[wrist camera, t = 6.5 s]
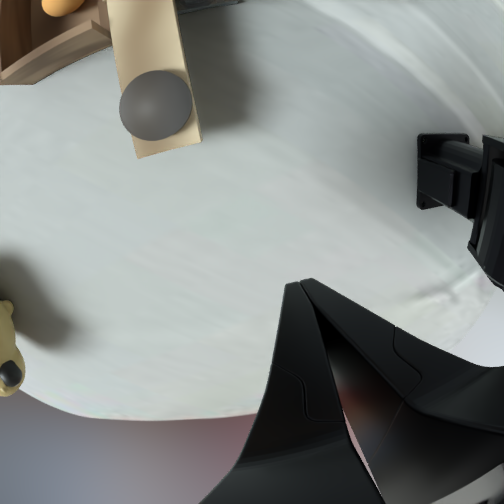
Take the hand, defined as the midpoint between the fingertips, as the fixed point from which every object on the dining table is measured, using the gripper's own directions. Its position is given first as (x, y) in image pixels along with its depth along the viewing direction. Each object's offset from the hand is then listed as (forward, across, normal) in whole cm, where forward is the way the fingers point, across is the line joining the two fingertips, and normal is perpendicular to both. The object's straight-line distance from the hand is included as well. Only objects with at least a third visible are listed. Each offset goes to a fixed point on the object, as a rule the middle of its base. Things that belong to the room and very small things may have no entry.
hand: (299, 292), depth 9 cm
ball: (+10, +9, -17) cm, 22 cm away
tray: (+12, +10, -17) cm, 23 cm away
